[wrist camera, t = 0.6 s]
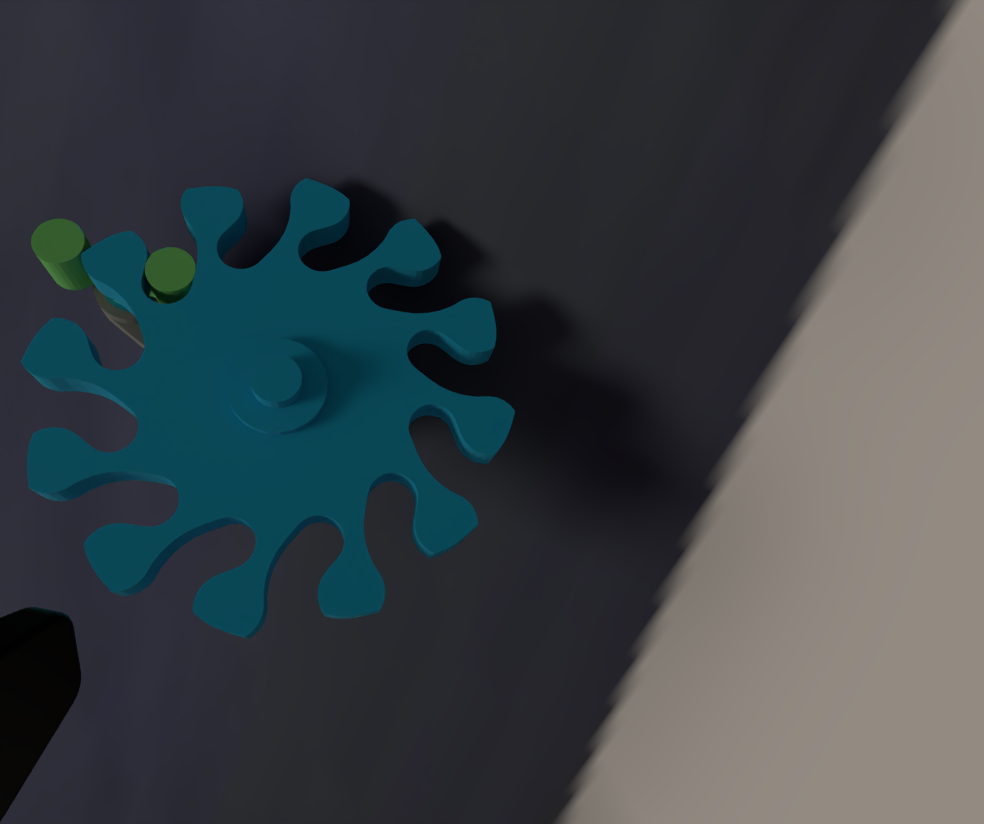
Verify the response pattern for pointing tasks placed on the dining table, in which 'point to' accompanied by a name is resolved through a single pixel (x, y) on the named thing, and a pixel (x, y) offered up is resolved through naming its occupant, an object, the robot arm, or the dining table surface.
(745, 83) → the dining table surface
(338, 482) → the gear
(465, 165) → the dining table surface
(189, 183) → the dining table surface
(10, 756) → the robot arm
